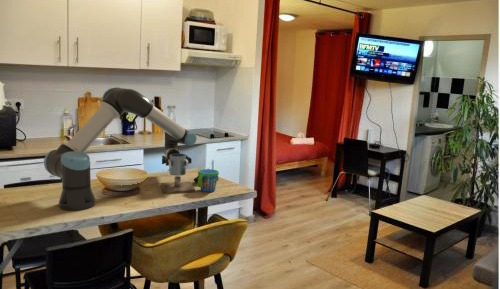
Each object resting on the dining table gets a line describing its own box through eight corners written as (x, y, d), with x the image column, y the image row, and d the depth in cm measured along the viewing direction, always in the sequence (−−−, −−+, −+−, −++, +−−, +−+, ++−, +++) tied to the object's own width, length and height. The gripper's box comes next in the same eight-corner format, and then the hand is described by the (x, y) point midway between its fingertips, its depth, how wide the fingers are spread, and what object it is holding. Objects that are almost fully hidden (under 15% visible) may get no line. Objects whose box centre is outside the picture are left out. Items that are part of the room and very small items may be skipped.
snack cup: (210, 185, 224) (210, 167, 223) (225, 189, 218) (225, 170, 217) (190, 191, 212) (190, 172, 210) (205, 195, 206) (206, 175, 204)
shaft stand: (163, 193, 206) (163, 181, 205) (160, 185, 221) (160, 173, 220) (195, 192, 211) (195, 180, 210) (190, 183, 226) (190, 172, 225)
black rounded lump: (193, 178, 235) (202, 163, 234) (207, 186, 237) (216, 171, 236) (192, 182, 225) (201, 167, 224) (206, 190, 226) (215, 175, 225)
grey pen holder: (170, 176, 210) (170, 156, 208) (168, 172, 217) (168, 153, 216) (186, 175, 212) (186, 156, 211) (184, 171, 220) (184, 153, 218)
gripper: (191, 161, 234) (199, 171, 213) (154, 162, 228) (157, 172, 207) (191, 148, 233) (199, 156, 212) (154, 149, 227) (157, 157, 206)
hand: (178, 164), depth 209 cm, fingers closed on grey pen holder, 8 cm apart
